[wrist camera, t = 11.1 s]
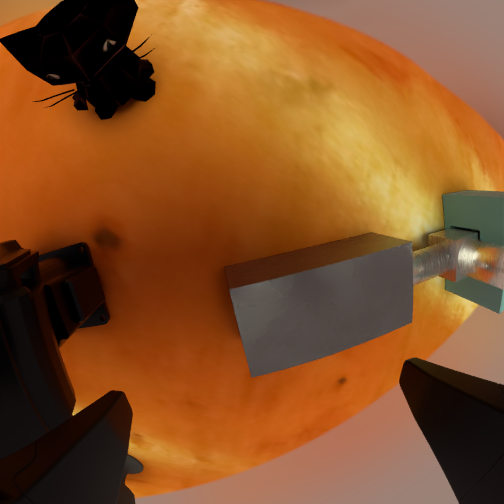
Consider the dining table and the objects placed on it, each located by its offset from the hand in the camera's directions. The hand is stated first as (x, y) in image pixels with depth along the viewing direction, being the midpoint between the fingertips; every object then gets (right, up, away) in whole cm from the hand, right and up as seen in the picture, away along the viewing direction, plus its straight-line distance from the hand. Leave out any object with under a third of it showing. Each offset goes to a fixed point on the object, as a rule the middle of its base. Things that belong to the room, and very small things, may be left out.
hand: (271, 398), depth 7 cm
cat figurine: (-10, +17, +9) cm, 21 cm away
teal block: (+21, +6, +15) cm, 27 cm away
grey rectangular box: (+4, +2, +13) cm, 14 cm away
